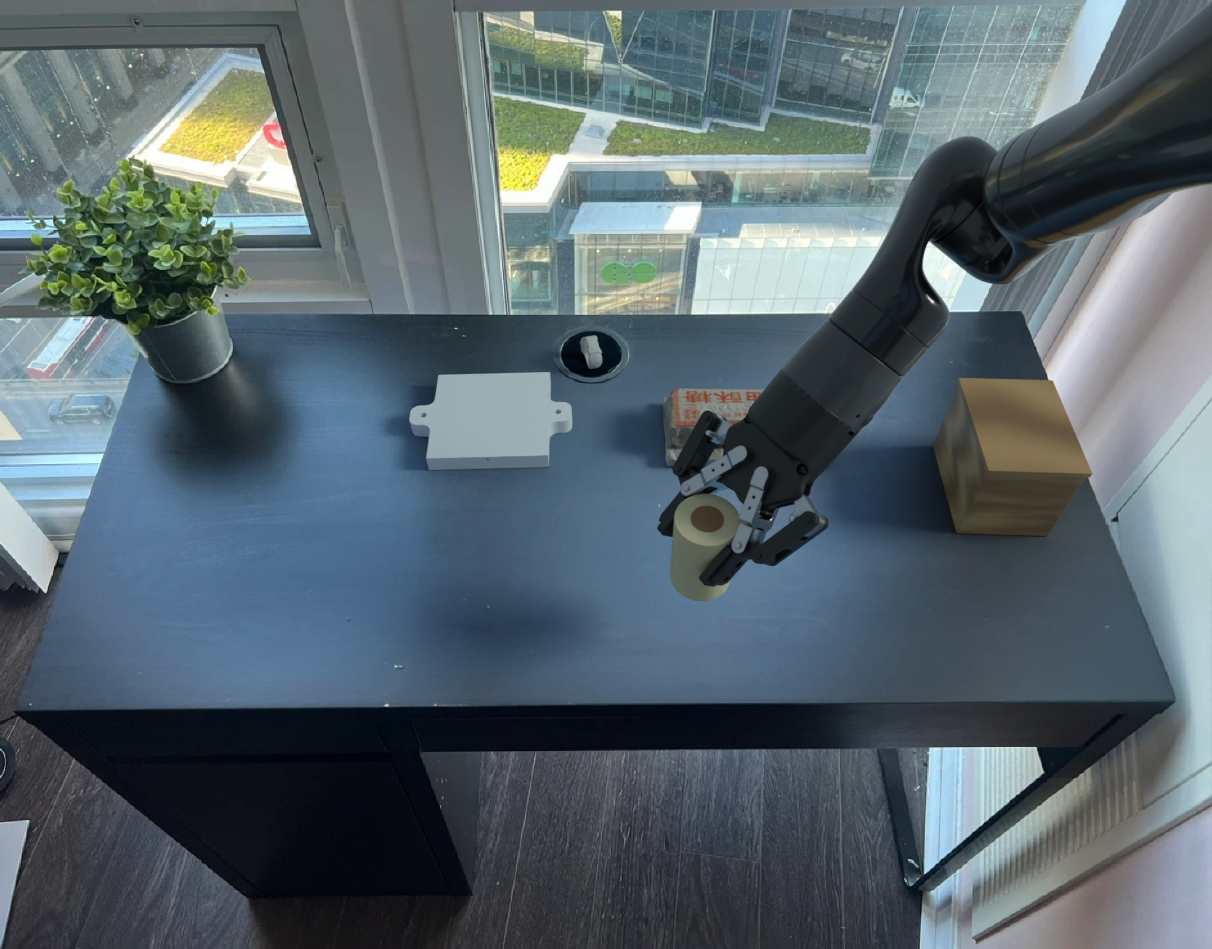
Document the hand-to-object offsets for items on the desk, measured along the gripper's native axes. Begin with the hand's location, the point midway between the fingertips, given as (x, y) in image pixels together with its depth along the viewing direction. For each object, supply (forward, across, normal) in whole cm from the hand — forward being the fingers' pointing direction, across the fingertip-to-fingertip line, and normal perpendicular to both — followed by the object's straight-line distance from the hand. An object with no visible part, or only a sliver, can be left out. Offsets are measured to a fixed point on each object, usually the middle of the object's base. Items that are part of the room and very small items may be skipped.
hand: (685, 557), depth 69 cm
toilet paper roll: (+2, 0, +4) cm, 5 cm away
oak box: (-18, +4, +35) cm, 39 cm away
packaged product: (-6, -16, +23) cm, 29 cm away
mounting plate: (+10, -33, +7) cm, 35 cm away
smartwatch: (0, -36, +18) cm, 40 cm away
